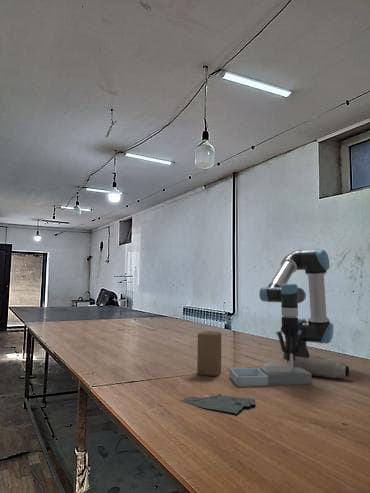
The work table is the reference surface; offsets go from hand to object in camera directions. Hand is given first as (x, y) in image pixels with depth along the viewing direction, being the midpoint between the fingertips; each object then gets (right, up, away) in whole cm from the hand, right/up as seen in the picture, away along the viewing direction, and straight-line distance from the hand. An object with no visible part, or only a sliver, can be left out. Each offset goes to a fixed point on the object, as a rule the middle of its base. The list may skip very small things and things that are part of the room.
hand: (290, 368), depth 170 cm
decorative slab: (-36, -3, -34) cm, 49 cm away
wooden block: (-37, -7, +11) cm, 39 cm away
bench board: (-3, -6, -1) cm, 6 cm away
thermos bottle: (+4, -3, +17) cm, 17 cm away
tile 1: (-10, -1, -1) cm, 10 cm away
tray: (-20, -5, -2) cm, 21 cm away
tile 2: (-4, -1, 0) cm, 4 cm away
